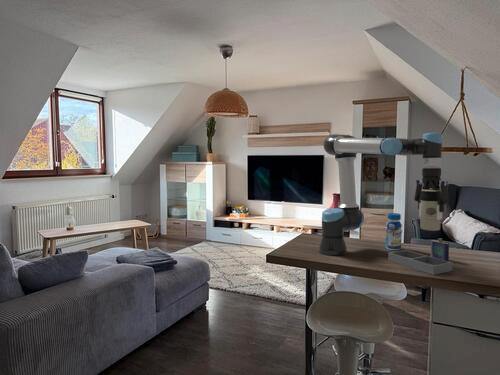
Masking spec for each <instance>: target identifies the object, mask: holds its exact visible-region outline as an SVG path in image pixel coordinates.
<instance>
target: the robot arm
mask: <svg viewBox="0 0 500 375" xmlns="http://www.w3.org/2000/svg"><path fill="white" fill-rule="evenodd" d="M323 150H324V152H326V154H329V155H330V156H334V159H335V161H336V162H337V165H338V166H337V167H338V180H339V181H338V182H339V195H340V196H339V197H340V200H339V201H340V204H339V205H338V206H337V207H335V208H333V207H332V208H327V209H325V210H323V211H322V212H321V213H322V214H321V239H320V242H319V245H318V253H320V254H323V255H328V256H344V255H346V254H347V253H348V247H347V245H346V242H345V239H344V233H345V232H348V231H354V230H357V229H359V228H361V227H362V226H363V224H364V223H365V215H364V212H362V210H361V209H360V205H359V204H357V194H356V179H355V175H356V174H355V163H354V162H355V160H356V159H357V154H371V155H372V154H374V155H388V156H406V157H407V156H417V155H419V156H422V167H423V168H422V169H421V171H422V172H421V176H422V178H421V179H417V180H416V188H415V193H414V201H415V202H417V205H418V206H417V209H418V211H419V213H418V215H419V216H418V217H419V218H420V214H421V196H422V194H423V193H422V189H423V190H427V189H433V190H436V194H435V195H436V197H437V201H438V203H439V204H438V205H437V220H440V221H441V220H443V213H444V212H445V205H447V204H449V203H450V200H449V194H448V193H449V192H448V180H442V178H441V176H442V168H441V167H442V163H443V162H442V159H443V158H442V155H443V154H442V152H443V151H442V150H443V136H442V133H440V132H427V133H423V134H422V137H421V138H400V137H399V138H398V137H355V136H354V135H350V134H337V133H336V134H335V133H334V134H330V135H328V136H327V137H326V138H325V139H324V141H323ZM437 190H441V191H437Z"/></svg>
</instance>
